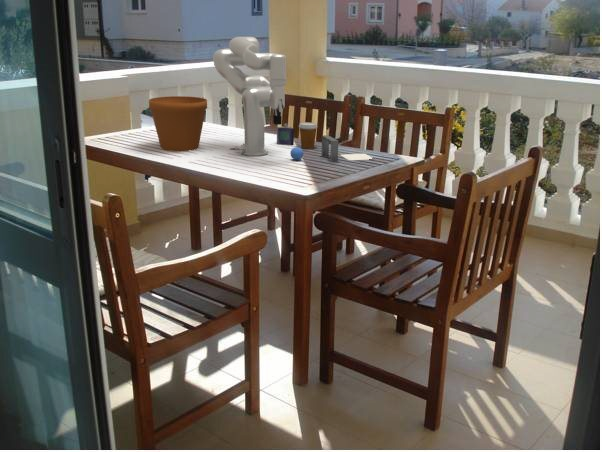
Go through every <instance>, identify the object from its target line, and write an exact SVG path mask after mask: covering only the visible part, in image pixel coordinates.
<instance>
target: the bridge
mask: <svg viewBox="0 0 602 452" xmlns="http://www.w3.org/2000/svg"><path fill="white" fill-rule="evenodd" d="M329 150H330V151H329ZM320 151H321V156H322V157H330V158H329V159H330V160H329V161H330V162H331V163H338V161H339V140H338V139H335V138H334V137H332V136H330V135H328V134H324V135H321V150H320Z"/></svg>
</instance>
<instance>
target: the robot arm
mask: <svg viewBox="0 0 602 452" xmlns="http://www.w3.org/2000/svg"><path fill="white" fill-rule="evenodd" d="M228 47H229V48H222V49H221V48H220V49H218V50H216V51H215V52H214V54H213V57H212V58H213V59H212V60H213V65H214V68H215V70H216V72H217V73H218V74H219V76H221V78H223V79H224V80H225V81H226V82H227V83H229V85H230V86H231V87H232V88H233V89H234V91H236V92H237V94H239V95H241V100H242V104H243V105H242V106H243V113H244V114H243V116H244V118H243V119H244V123H243V124H244V125H243V127H244V132H243V133H244V143H242V144H241V145H234V151H240V152H241V154H242V156H243V155H244V156H249V157H261V156H265V155H267V154H268V150H266V149H265V114H264V112H263V111H262V109H261V108H267V107H270V108H271V109H272V111H273V113H272V114H273V115H272V118H273V122H272V123H273V125H279V126H280V125H282V120H283V119H282V117H283V110H284V109H285V104H286V103H285V101H286V99H285V98H286V96H285V95H286V94H285V93H286V92H285V88H286V87H287V56H286V55H285V54H280V53H276V52H260V42H259V40H258V39H257V38H256V37H254V36H236V37H233V38H232V39H231V40H229V44H228ZM239 66H240V67H241V66H246V67H247V68H249V69H251V70H253V71H269V72H268V73H269V80H268V79H267V78H266V77H265V76H263V75H261V74H245V73H244V72H243V71H242V70H241V69H240V68H238V67H239Z"/></svg>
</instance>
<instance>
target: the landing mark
mask: <svg viewBox="0 0 602 452" xmlns="http://www.w3.org/2000/svg"><path fill="white" fill-rule="evenodd" d="M339 156H340V157H342V158H344V159H346V160H347V161H349V162H350V161H353V162H354V161H370V160H369V159H372V158H373V157H372V156H370V155H369V154H366V153H347V154H339Z"/></svg>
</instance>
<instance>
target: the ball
mask: <svg viewBox="0 0 602 452" xmlns="http://www.w3.org/2000/svg"><path fill="white" fill-rule="evenodd" d="M303 156H304V151H303V148H302V147H299V146H296V147H294V148H292V149H290V157H291V159H293V160H295V161H299V160H301V159H302V158H303Z"/></svg>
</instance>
